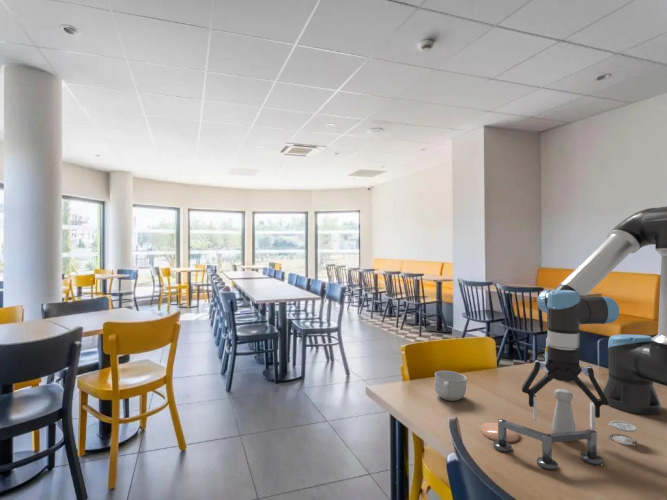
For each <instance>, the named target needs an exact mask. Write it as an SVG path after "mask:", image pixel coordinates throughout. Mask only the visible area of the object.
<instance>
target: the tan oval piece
mask: <svg viewBox="0 0 667 500" xmlns="http://www.w3.org/2000/svg"><path fill="white" fill-rule="evenodd" d="M480 433H481V434H482V435H483V436H484V437H486V438H487V439H489V440H491V441H493V442H495V441H498V422H485V423H483V424H481V425H480ZM519 440H520V433H517V432H515V431H512V430H509V429H507V443H509V444H511V443H515V442H517V441H519Z"/></svg>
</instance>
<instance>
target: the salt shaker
mask: <svg viewBox="0 0 667 500" xmlns="http://www.w3.org/2000/svg"><path fill="white" fill-rule="evenodd" d="M554 399H556V401H555V403H556V404H555V408H554V413H553V419H552V423H551V429H552V432H553V433H562V432H573V431H577V429H576V427H577V426H576V422H575V417H574V414H573V409H572V404H571V403H572V401H573V393H572V392H571V391H570V390H568V389H565V388H564V389H563V388H557V389H555V390H554Z"/></svg>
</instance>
